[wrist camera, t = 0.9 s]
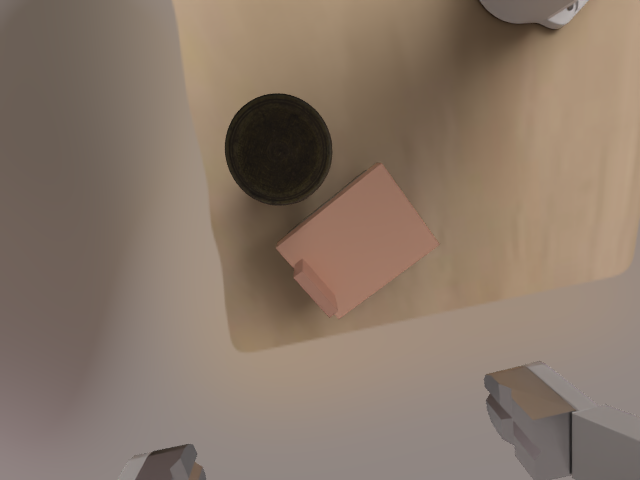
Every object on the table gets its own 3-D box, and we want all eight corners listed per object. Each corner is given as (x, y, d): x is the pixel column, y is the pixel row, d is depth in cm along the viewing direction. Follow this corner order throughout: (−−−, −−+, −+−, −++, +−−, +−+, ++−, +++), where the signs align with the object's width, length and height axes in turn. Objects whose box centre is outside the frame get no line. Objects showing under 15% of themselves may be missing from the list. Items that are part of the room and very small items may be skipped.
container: (322, 189, 42) (335, 210, 24) (257, 188, 41) (223, 209, 24) (324, 120, 39) (339, 89, 22) (255, 119, 39) (215, 85, 21)
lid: (376, 162, 34) (392, 163, 28) (431, 239, 37) (457, 254, 31) (277, 242, 36) (271, 259, 30) (336, 309, 39) (342, 337, 33)
